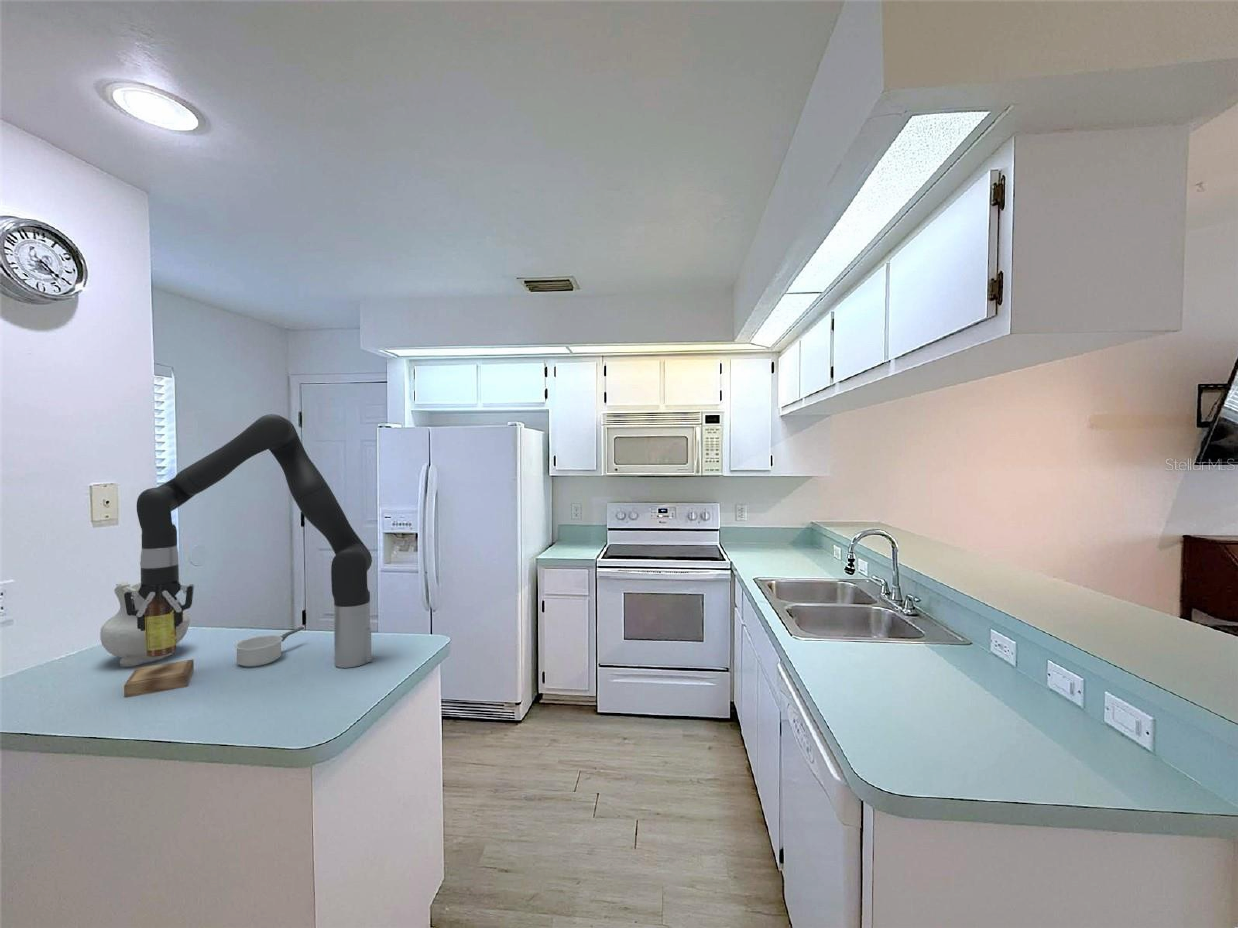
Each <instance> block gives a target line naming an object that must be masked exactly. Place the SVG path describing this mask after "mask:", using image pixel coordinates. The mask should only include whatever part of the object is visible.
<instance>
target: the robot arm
mask: <svg viewBox="0 0 1238 928" xmlns="http://www.w3.org/2000/svg"><path fill="white" fill-rule="evenodd" d="M267 450H269V451H270V453H271V454H272V455H273V456H274V457H273V458H275V459H276V461H277V462H278V464H279V466H280V467H281V469H282V471H283V474H284V477H285V480H286V483H287V486H288V489H289V492H290V494H291V496H292V499H293V500H294V501H295V503H296V505H297V506H298V508H299V510H300V512H301V513H302V515H303V516H304V517H305V519H306V520H307V521H308V522H309V523H310V524H311V525H312V526H313V527H314V528H315V529H316V530H318V531H319V532H320V533H321V534H322V535H323V536H324V538H325V539H326V540H327V541H328V544H329V545H330V546H331V549H332V550H333V552H334V555H335V556H334V557H333V558H332V561H331V567H330V578H331V594H332V597H333V603H334V604H333V617H334V618H333V619H334V620H333V623H334V625H333V626H334V629H333V631H334V632H333V634H334V635H333V636H334V644H333V646H334V655H333V658H334V659H333V660H334V666H335V667H338V668H343V669H344V668H356V667H359V666H362V665H365V664H368V663H371V662H372V628H371V593H370V590H369V589H368V571H369V569H370V568H371V565H372V562H373V557H372V554H371V552H370V550H369V549H368V547H367V546H366V545H365V544H364V542H363V541H362V540H361V538H360V537H359V536H358V534H357V533H356V532H355V530H354V529H353V527H352V526H351V523H350V522H349V520H348V518H347V517H346V514H345V513H344V511H343V509H342V507H341V505H340V504H339V502H338V500H337V497H336V496H335V494H334V493H333V491H332V489H331V487H330V486H329V484H328V483H327V481H326V480H325V478H324V477H323V475H322V474H321V473H320V471H319V469H318V468H317V467H316V465H315V464H314V463H313V461H312V460H311V458H310V457H309V455H308V454H307V452H306V450H305V447H304V446H303V443H302V441H301V439H300V436H299V434H298V432H297V429H296V427H295V426H294V424H293V423H292V421H290V420H289V419H287V418H286V417H283V416H281V415H279V414H274V413H273V414H265V415H262V416H261V417H259V418H258V419H256V420H255V421H254V422H253V423H252V424H250V425H249V426H248V427H247V428H245V430H243V431H241V433H240V434H238V435H236V437H234V438H233V439H231V440H230V441H228V442H227V443H225V444H224V445H222V446H221V447H219V448H218V449H216V450H215V451H213V452H211V453H209V454H208V455H206V456H204V457H202V458H200V459H199V460H197V461H195V462H194V463H192V464H191V465H188V466H187V467H185V468H183V469H182V470H180V471H179V472H178V473H177V474H175V476H174V477H173V478H171V479H170V480H168V481H166V482H165V483H163V484H161V485H159V486H157V487H152V488H151V487H150V488H147V489H145V490H143V491H142V492H141V493H140V494H139V495H138V497H137V499H136V514H137V519H138V523H139V526H140V528H141V529H140V530H141V550H140V551H141V553H140V558H139V559H140V562H139V566H140V583H141V587H140V589H139V590H135V591H131V590H129V591H127V592H126V593H125V594H124V598H125V605H126V611H127V615H129V616H131V615H133V616H136V617H137V628H138V629H141V631H145V618H144V617H145V609H146V608H147V605H148V604H149V603H150V602H151V601H152V599H153V597H154V596H155V594H156V593H155V592H154V591H152V585H160V584H164V591H163V592H162V594H163V596H164V597H165V598H166V599H167V601H168V602H169V603H170V605H171V606H173V608H174V609H175V610H176V613H175V627H177V626H179V625H180V624H181V623H182V622H183V611H185V610H189V609H191V607H192V605H193V598H194V589H195V585H194V584H192V583H191V584H189V585H181V583H180V578H179V577H180V574H179V573H180V572H179V571H180V570H179V568H180V567H179V549H178V530H177V527H176V525H175V524H174V523H173V520H172V518H173V517H172V512H173V511H174V510H176V509H178V508H179V507H181V506H182V505H184V504H186V503H187V502H188V501H189V500H191V499H192V498H193V497H195V496H196V495H198V494H199V493H201V492H203V491H205V490H207V489H209V488H210V487H212V486H213V485H215V484H217V483H218V482H220V481H221V480H223V479H224V478H226V477H227V476H228V475H230V474H231V473H232V472H233V471H235V469H237V467H239V466H240V465H242V464H243V463H244V462H246V461H247V460H249V459H250V458H253V457H254V456H256V455H258V454H260V453H263V452H265V451H267ZM180 591H182V593H183V594H184V595H185V601H184V604H182V603H181V602H180V599H179V598H178V597H177V594H178V593H179V592H180ZM137 594H139V595H140V596H141V597H143V598H144V599H145V601H144V603H143V605H142V606H141V608H140V610H137V609H135V603H134V599H135V598H136V597H137Z"/></svg>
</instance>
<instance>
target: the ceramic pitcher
mask: <svg viewBox="0 0 1238 928" xmlns="http://www.w3.org/2000/svg"><path fill="white" fill-rule="evenodd" d="M115 585H116V586H115V587H114V589H113V592H114V594H115V595H116V597H117V600H118V602H119V610H118V611H117V613H116V614H115V615H113V616H112V617H110V618H109V619H108V620H107V621H105V623H104V624H102V626H101V628H100V633H99V635H100V643H101V645H102V646H103V648H104V649H105V650H106V652H108V653H109V654H111V655H113V657H114V656H115V657H121V659H120V660H119V666H120V667H123V668H130V667H131V668H132V667H135V666H138V665H139V666H140V665H142V664H146V663H150V662H154V661H155V662H156V661H160V660H164V659H166V658H168V657H170V656H172V655H173V654H174V652H172V653H170V654H166V655H163V656H156V657H151V656H148V655H147V651H146V642H145V631H141V629H138V628H137V617H136V616H133V615H131V616H129V615H127V611H126V605H125V598H124V594H125V593H126V592H127V591H129V590H131V591H135V590H139V589H140V587H141V582H137V583H133V584H132V585H131V584H130V581H123V582H121V583H115ZM144 601H145V599H144V598H143V597H141V596H140V595H139V594H137V597H136V598H135V599H134V603H135V609H137V610H140V608H141V606H142V605H143V603H144ZM189 626H190V617H189V614H188V613H187V612H186V611H185V610H184V611H183V622H182V623H181V624H180V625H179V626H177V628H176V630H177V644H178V643H179V642H180V641H182V640H183V639H184V637H185V636H186V634H187V631H188V629H189Z"/></svg>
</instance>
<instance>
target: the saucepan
mask: <svg viewBox="0 0 1238 928" xmlns="http://www.w3.org/2000/svg"><path fill="white" fill-rule="evenodd" d="M304 629H305V627H304V626H299V627H297V628H295V629H291V630H289V631H287V632H285V633H283V634H281V635H276V634H275V635H272V634H271V635H270V634H269V635H261V636H254V637H250V638H249V637H248V638H247V639H243V640H241V641H239V642H237V643H236V644H235V645H234V647H235V649H236V663H237V664H238V665H240V666H242V667H247V668H251V667H259V666H260V667H261V666H264V665H267V664H271V663H273V662H275V661H276V660H277V659H279V658H280V657H281V656H282V642H284V641H285V640H286V639H287V638H288V637H289V636H291V635H293V634H295V633H298V632H301V631H303V630H304Z"/></svg>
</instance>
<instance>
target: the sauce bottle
mask: <svg viewBox="0 0 1238 928" xmlns="http://www.w3.org/2000/svg"><path fill="white" fill-rule="evenodd" d="M152 591H154V592H155V593H156V594H155V596H154V597H153V599H152V601H151V602H150V603H149V604H148V605H147V608H146V609H145V617H144V618H145V642H146V651H147V655H148V656H151V657H156V656H163V655H166V654H170V653H172V652H173V653H174V652H175V651H177V644H178V643H177V630H176V628H177V627H175V613H176V610H175V609H174V608H173V606H171V605H170V603H169V602H168V601H167V599H166V598H165V597H164V596H163V594H162V592H163V591H164V584H160V585H152Z"/></svg>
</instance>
